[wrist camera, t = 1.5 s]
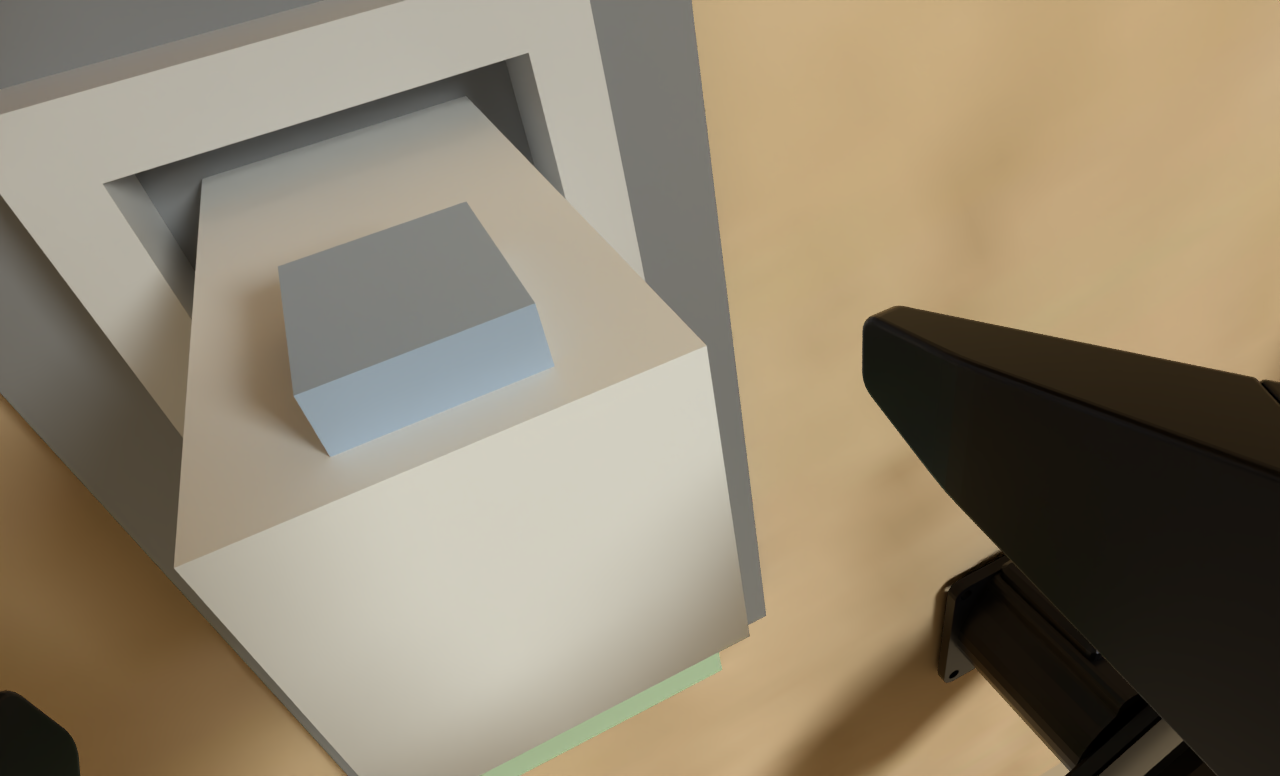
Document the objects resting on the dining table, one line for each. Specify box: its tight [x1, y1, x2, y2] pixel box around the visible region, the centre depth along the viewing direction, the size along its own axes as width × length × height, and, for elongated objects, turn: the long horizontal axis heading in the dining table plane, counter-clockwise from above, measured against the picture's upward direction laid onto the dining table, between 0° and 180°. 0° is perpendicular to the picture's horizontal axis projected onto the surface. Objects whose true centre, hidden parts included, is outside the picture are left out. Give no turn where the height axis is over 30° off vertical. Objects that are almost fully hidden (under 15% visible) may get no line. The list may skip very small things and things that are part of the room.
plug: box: [174, 96, 750, 776], centre depth 10 cm, size 5×4×8 cm
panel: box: [0, 0, 766, 776], centre depth 16 cm, size 20×12×2 cm, turn 11°
